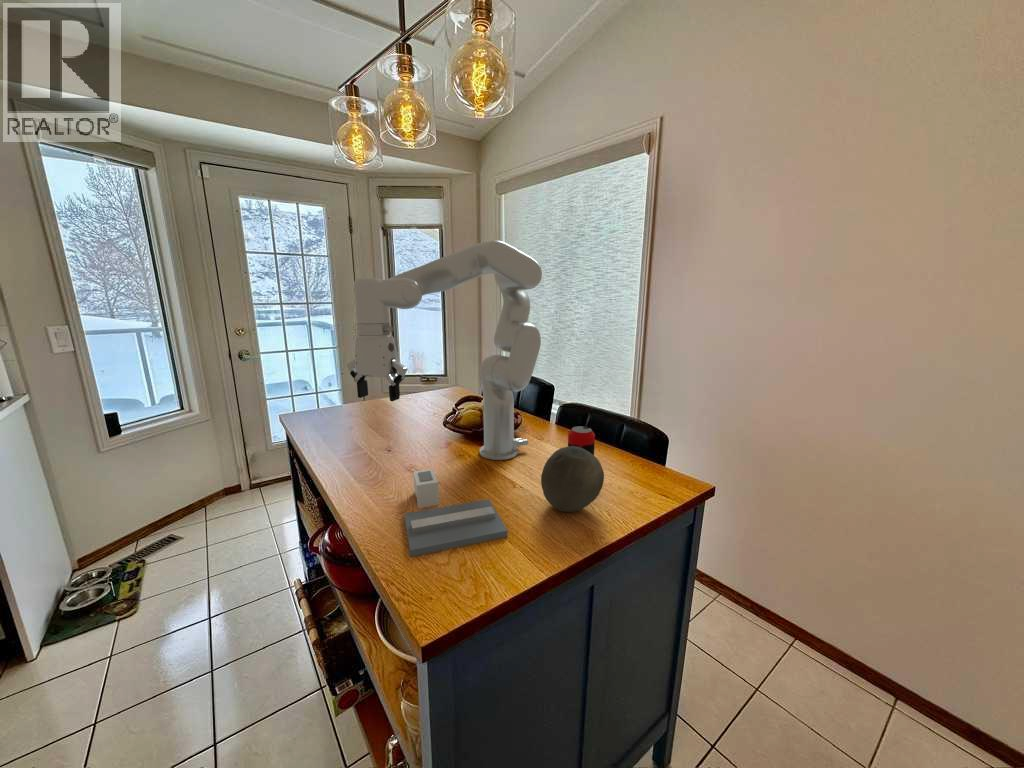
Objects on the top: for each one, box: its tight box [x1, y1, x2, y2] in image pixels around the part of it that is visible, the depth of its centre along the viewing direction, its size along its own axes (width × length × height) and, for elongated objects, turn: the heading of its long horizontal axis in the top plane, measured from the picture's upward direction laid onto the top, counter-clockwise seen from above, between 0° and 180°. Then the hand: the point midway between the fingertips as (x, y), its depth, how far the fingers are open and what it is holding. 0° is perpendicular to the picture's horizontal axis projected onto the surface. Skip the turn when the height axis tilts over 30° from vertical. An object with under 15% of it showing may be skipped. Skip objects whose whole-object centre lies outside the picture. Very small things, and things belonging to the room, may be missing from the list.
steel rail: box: [411, 506, 495, 533], centre depth 87 cm, size 18×3×1 cm, turn 109°
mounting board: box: [403, 498, 509, 558], centre depth 88 cm, size 20×14×2 cm
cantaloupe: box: [540, 445, 605, 513], centre depth 94 cm, size 14×14×15 cm
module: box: [413, 468, 440, 509], centre depth 100 cm, size 5×8×6 cm, turn 19°
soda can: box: [567, 425, 596, 456], centre depth 116 cm, size 8×8×12 cm
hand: (378, 398), depth 102 cm, fingers open, 9 cm apart
